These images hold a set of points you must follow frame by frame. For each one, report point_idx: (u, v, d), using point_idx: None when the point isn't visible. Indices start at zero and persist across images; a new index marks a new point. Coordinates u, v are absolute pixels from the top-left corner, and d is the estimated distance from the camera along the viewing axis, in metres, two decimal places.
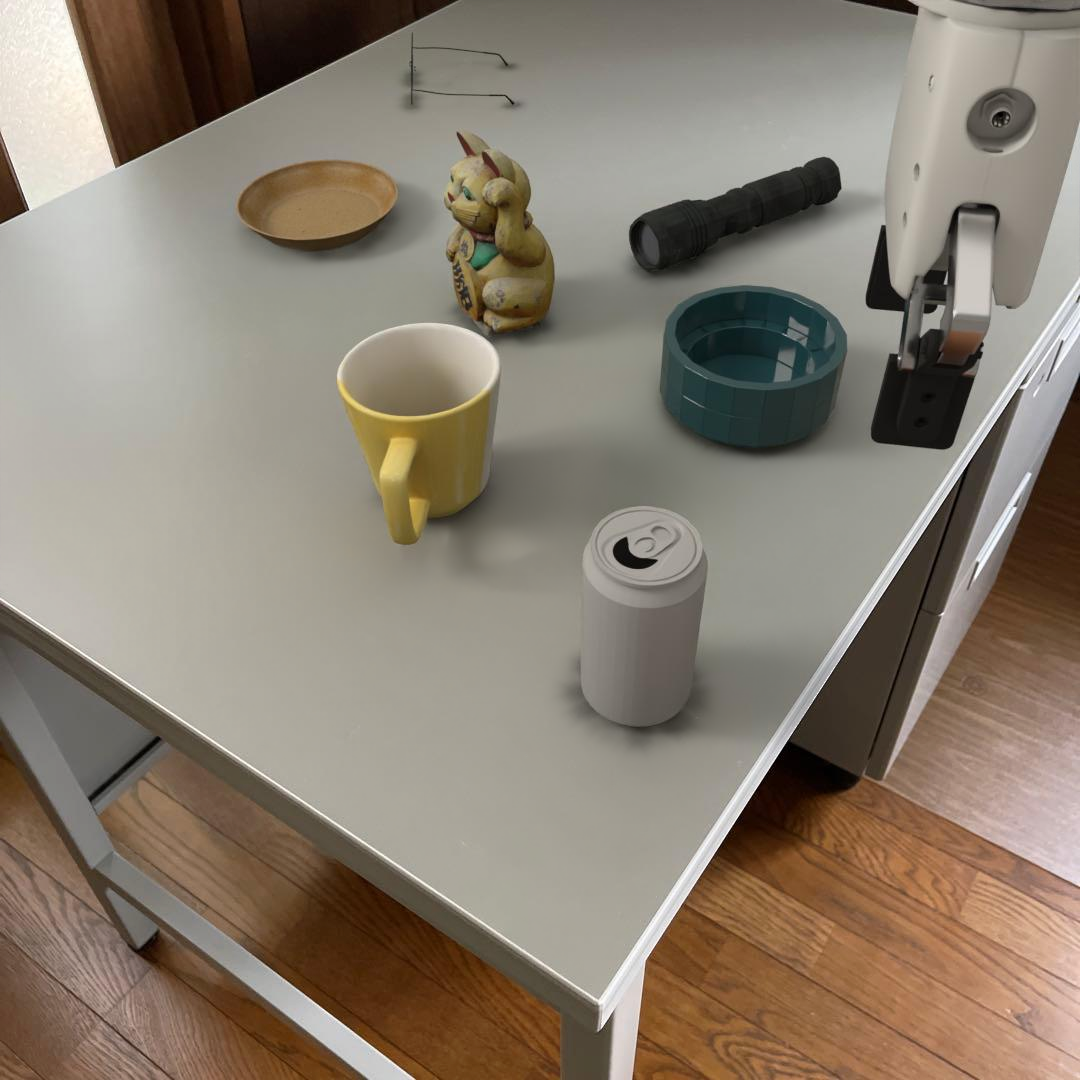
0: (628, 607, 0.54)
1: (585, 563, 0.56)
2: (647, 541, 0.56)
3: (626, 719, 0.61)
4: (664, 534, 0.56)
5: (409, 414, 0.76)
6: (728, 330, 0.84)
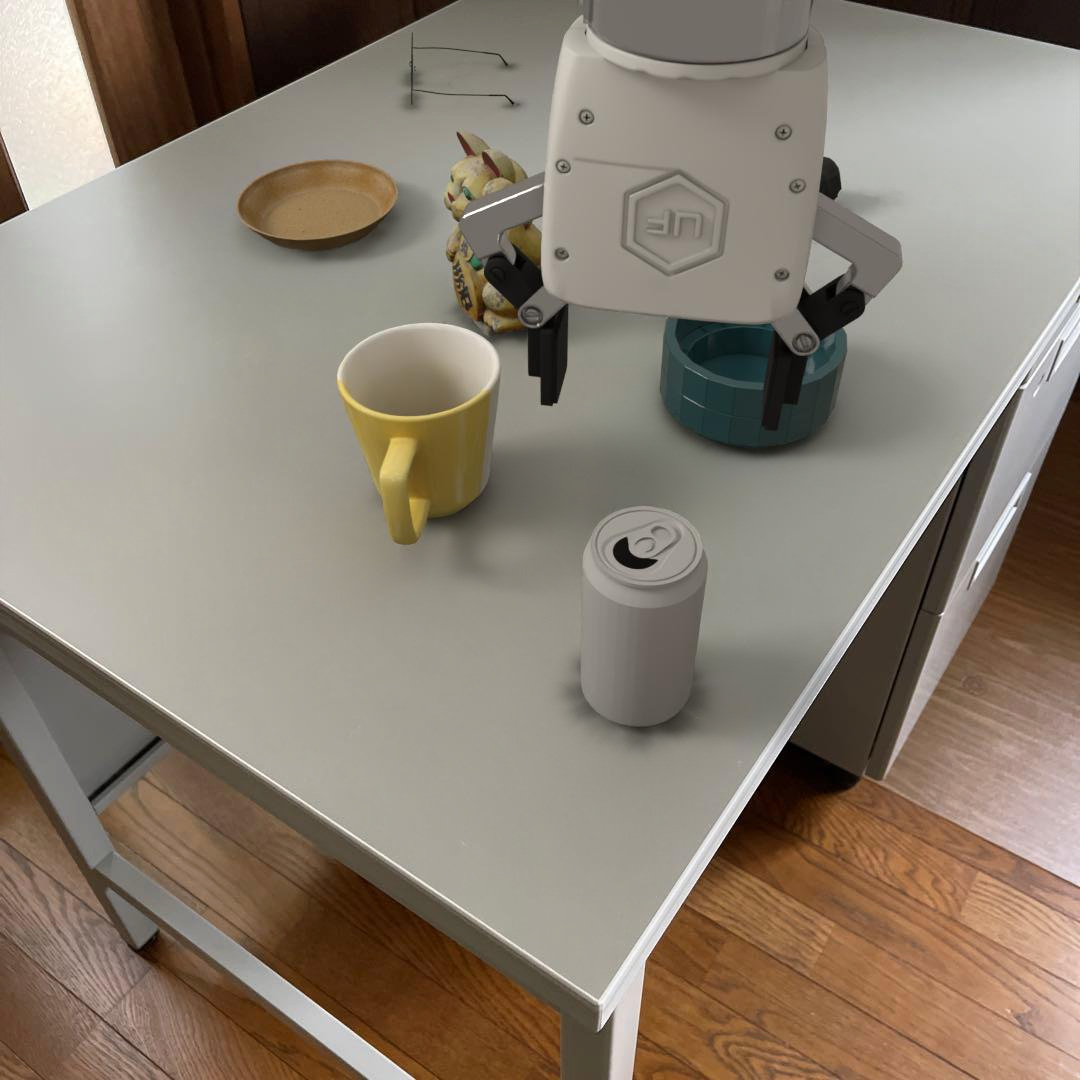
0: (628, 607, 0.54)
1: (585, 563, 0.56)
2: (647, 541, 0.56)
3: (626, 719, 0.61)
4: (664, 534, 0.56)
5: (409, 414, 0.76)
6: (728, 330, 0.84)
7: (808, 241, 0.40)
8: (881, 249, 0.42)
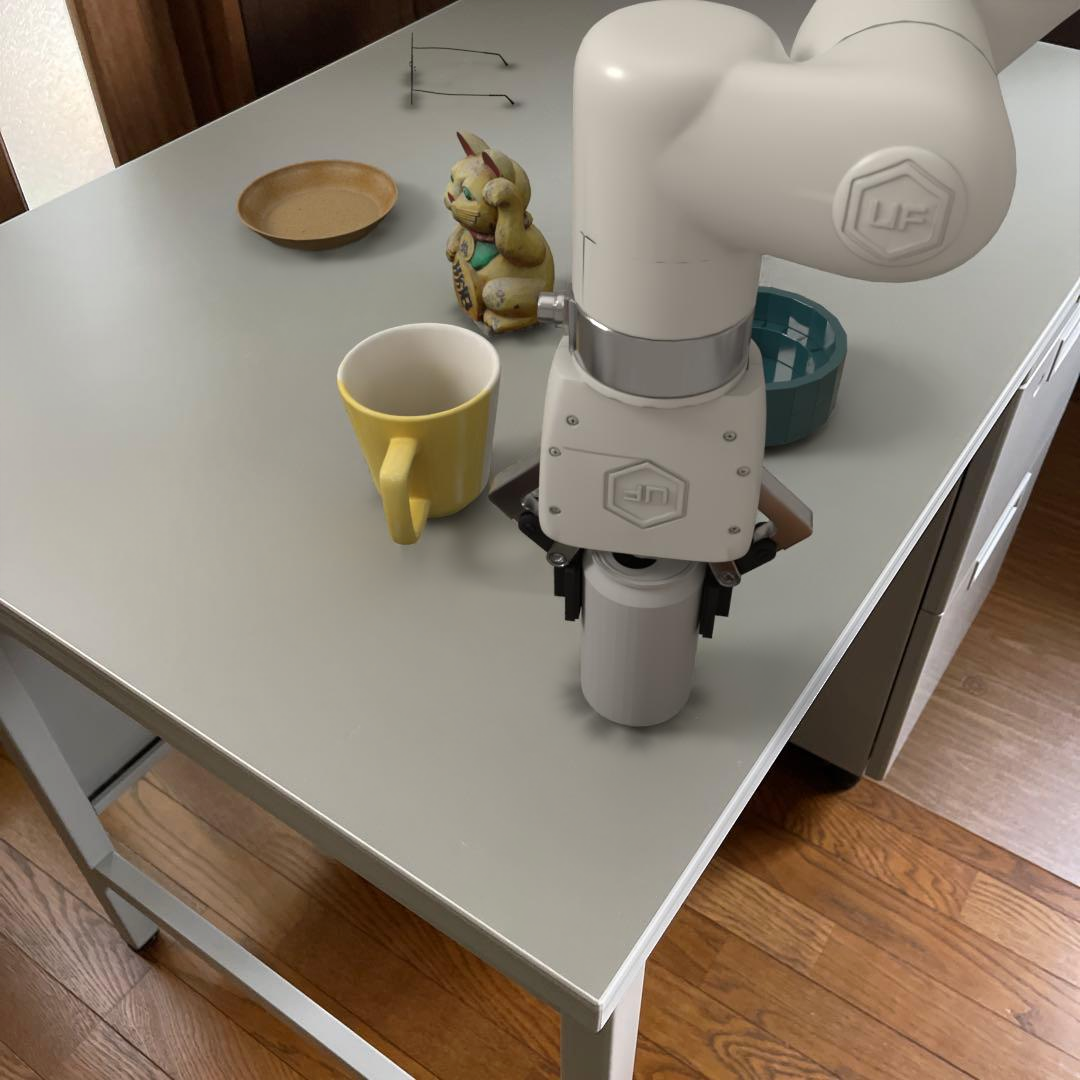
0: (627, 606, 0.54)
1: (585, 563, 0.56)
2: None
3: (626, 719, 0.61)
4: None
5: (409, 414, 0.76)
6: None
7: (754, 506, 0.49)
8: (799, 520, 0.52)
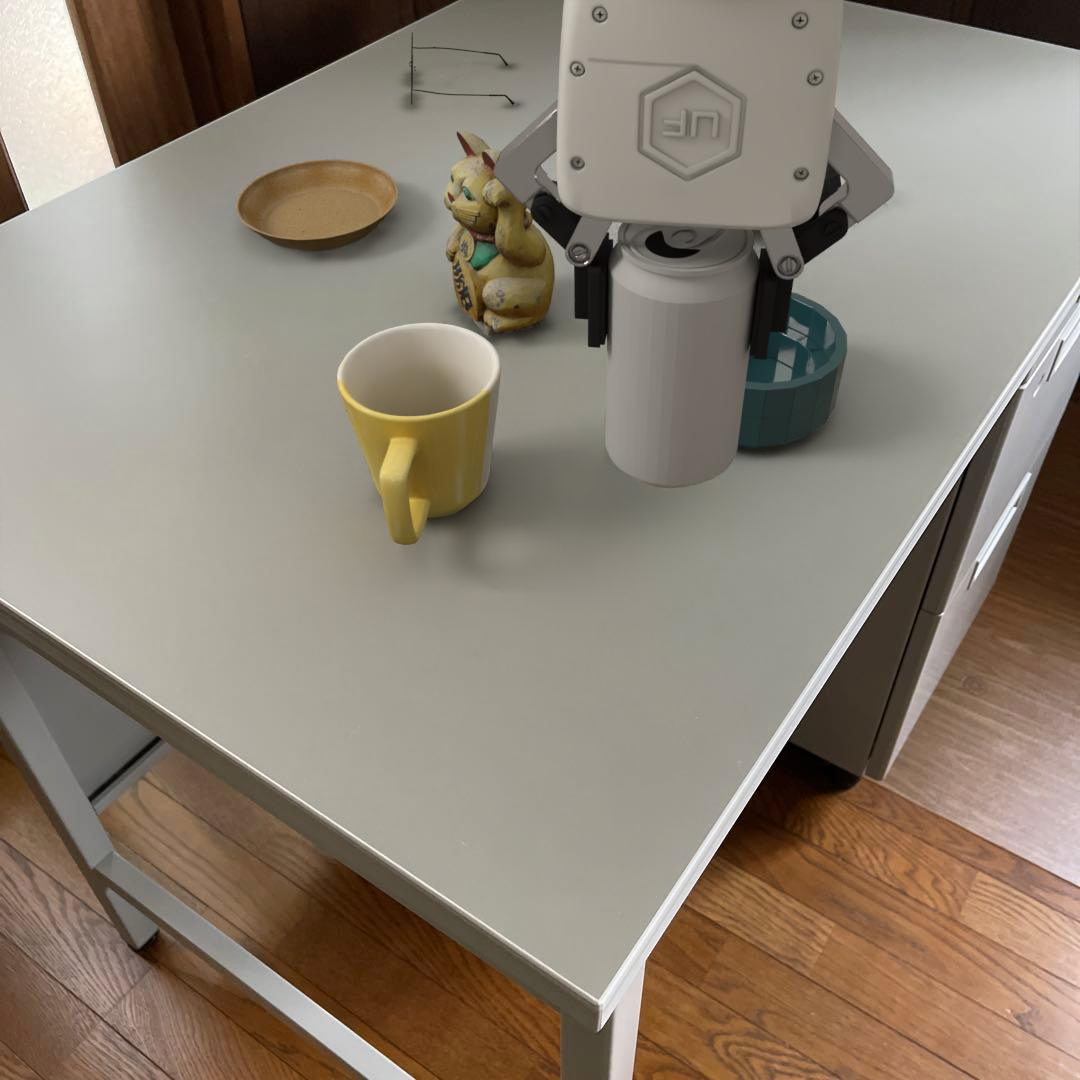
0: (666, 303, 0.44)
1: (612, 263, 0.46)
2: (686, 233, 0.46)
3: (662, 477, 0.51)
4: None
5: (409, 414, 0.76)
6: None
7: (827, 137, 0.40)
8: (878, 174, 0.42)
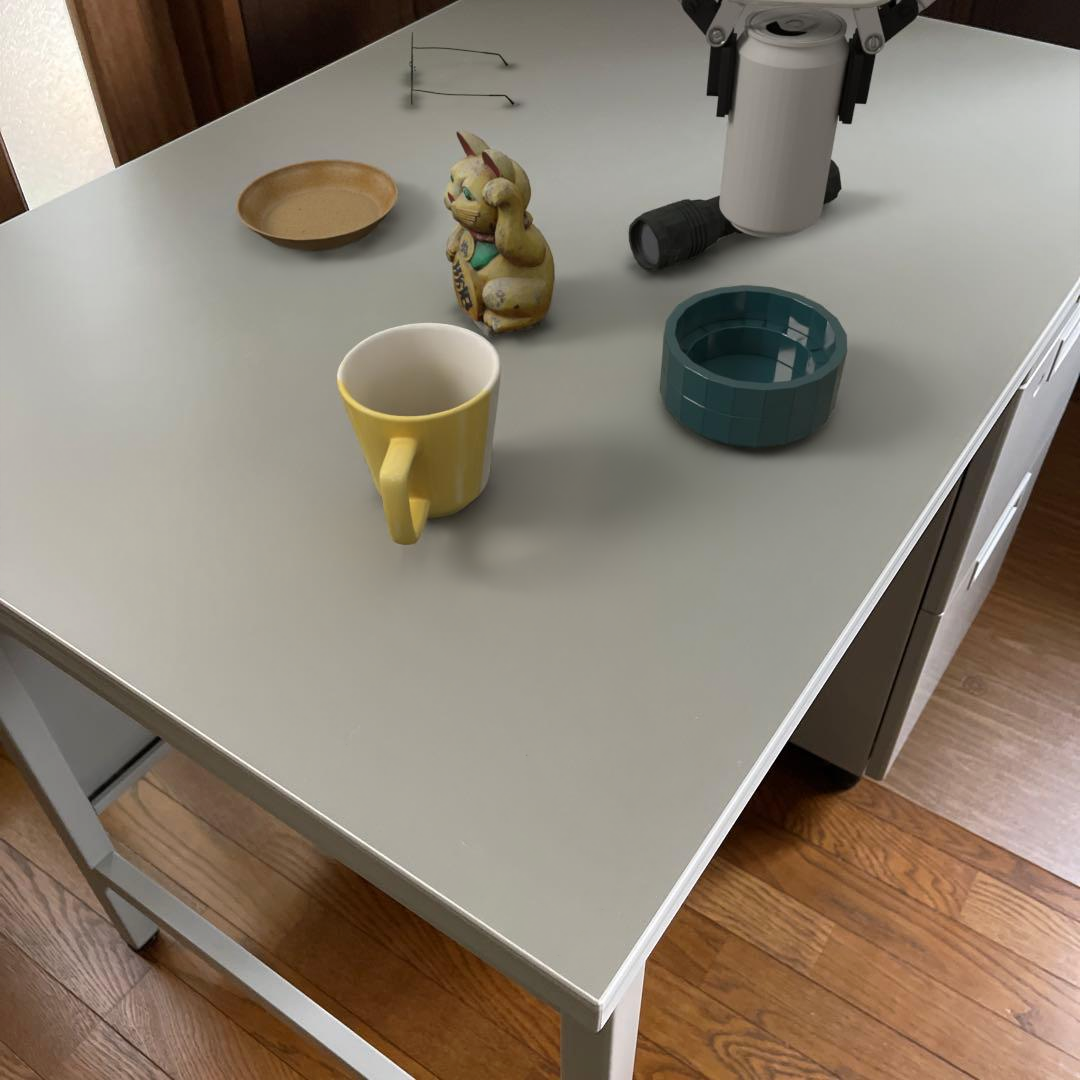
0: (782, 69, 0.60)
1: (739, 45, 0.62)
2: (795, 22, 0.62)
3: (767, 223, 0.67)
4: (810, 19, 0.62)
5: (409, 414, 0.76)
6: (728, 330, 0.84)
7: None
8: None
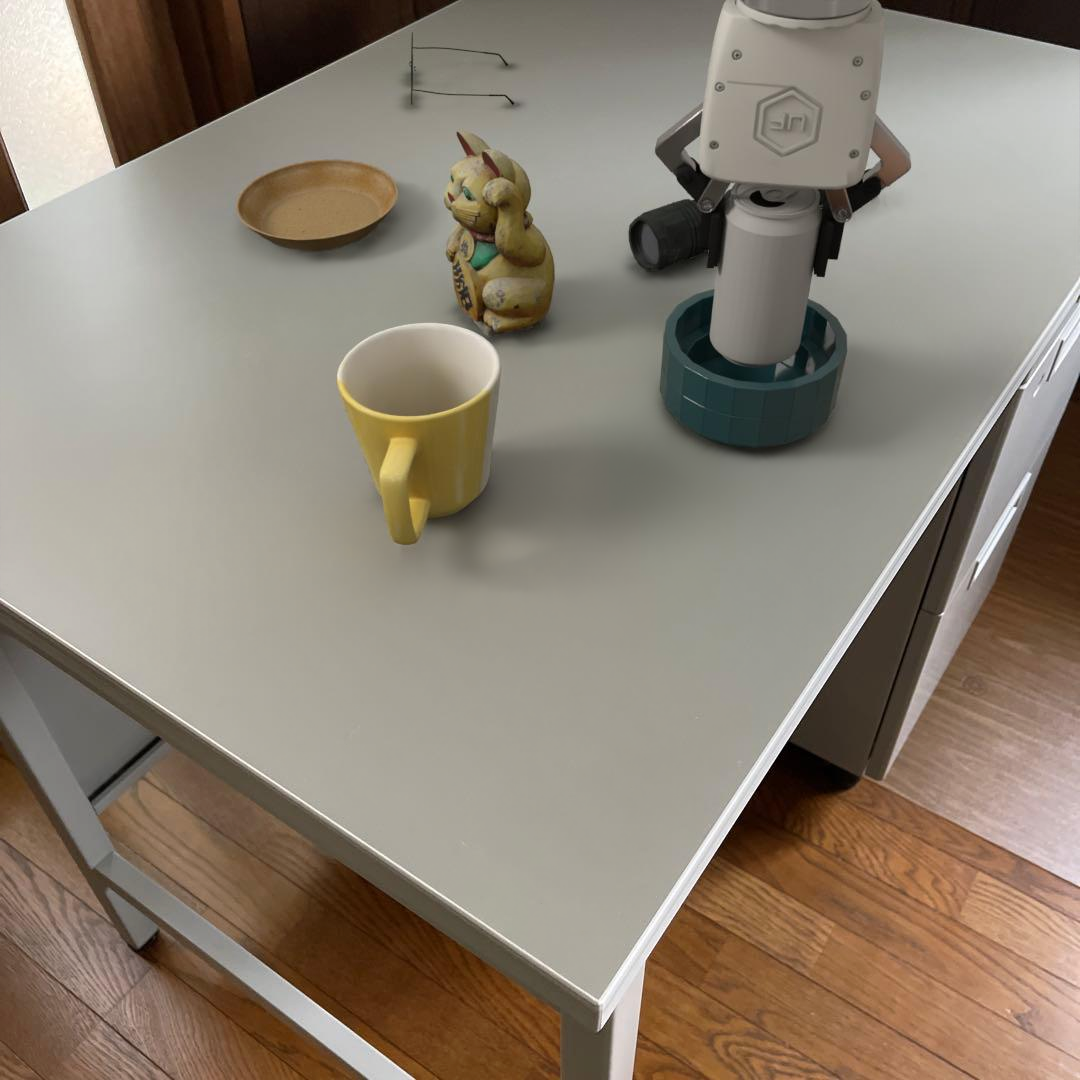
0: (763, 236, 0.70)
1: (726, 211, 0.71)
2: (775, 192, 0.71)
3: (751, 357, 0.76)
4: (788, 188, 0.71)
5: (409, 414, 0.76)
6: None
7: (871, 131, 0.65)
8: (901, 155, 0.67)
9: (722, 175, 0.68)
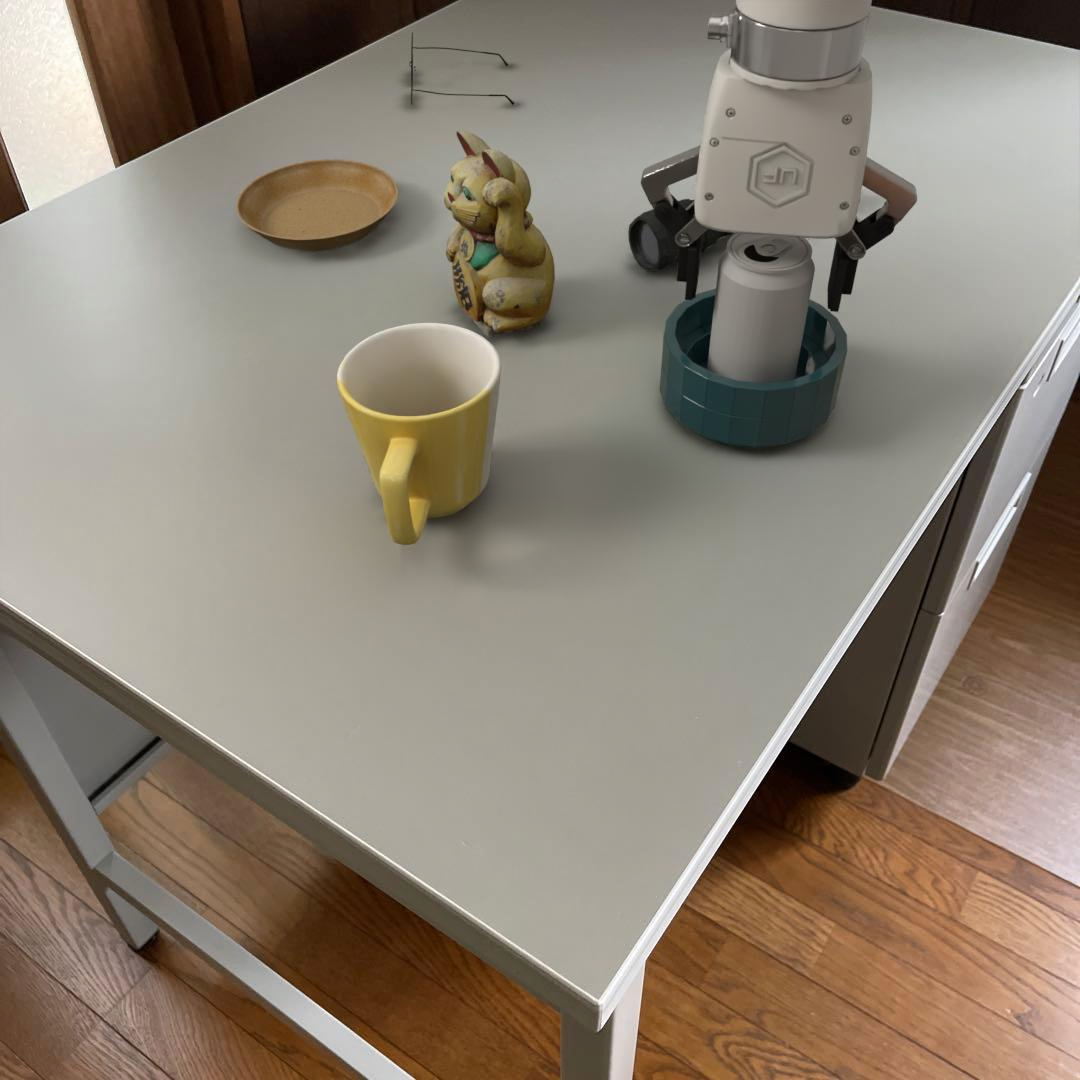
0: (757, 290, 0.72)
1: (722, 264, 0.74)
2: (769, 246, 0.74)
3: None
4: (781, 243, 0.74)
5: (409, 414, 0.76)
6: None
7: (860, 184, 0.67)
8: (904, 190, 0.69)
9: (717, 225, 0.70)
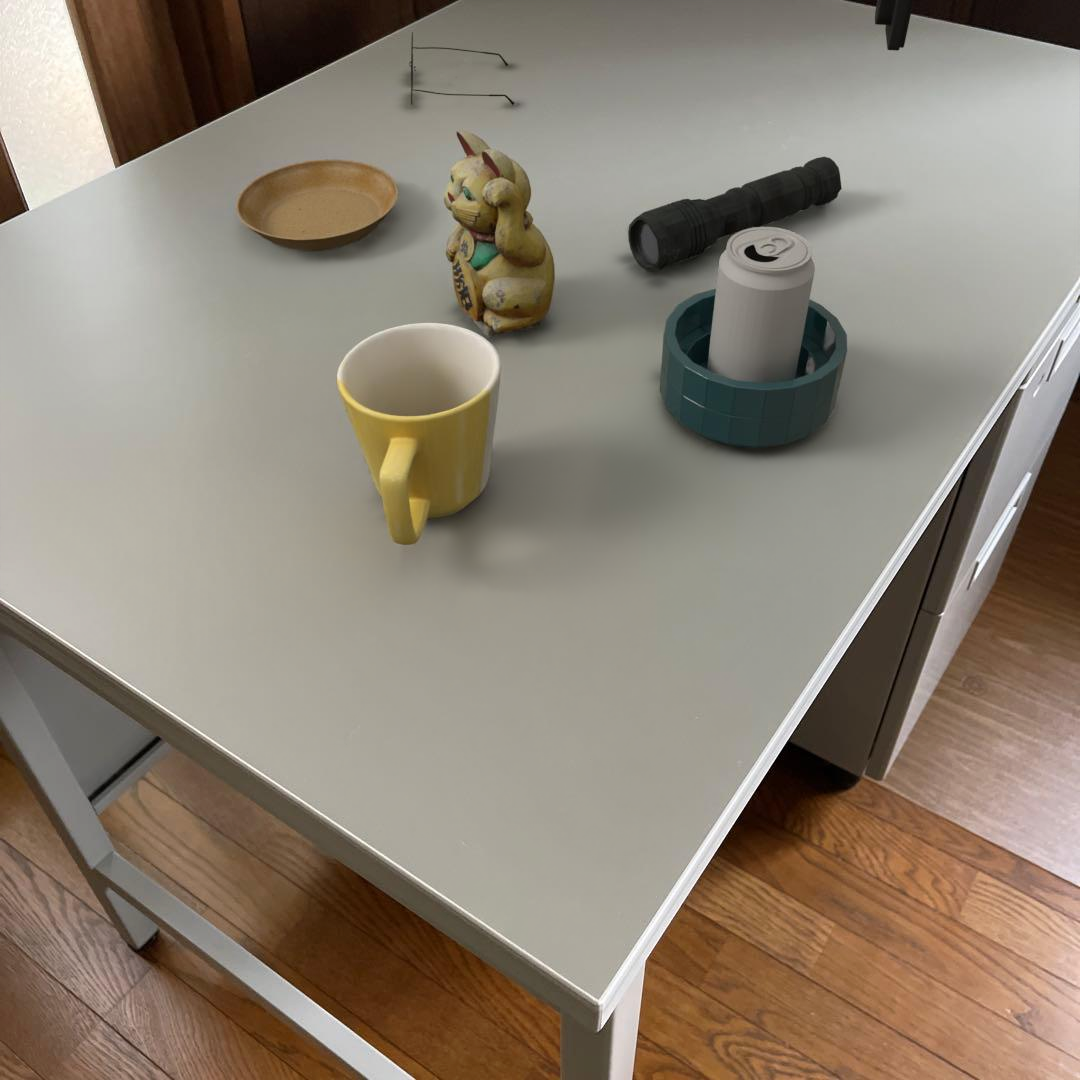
0: (757, 290, 0.72)
1: (722, 264, 0.74)
2: (769, 246, 0.74)
3: None
4: (781, 243, 0.74)
5: (409, 414, 0.76)
6: None
7: None
8: None
9: None
